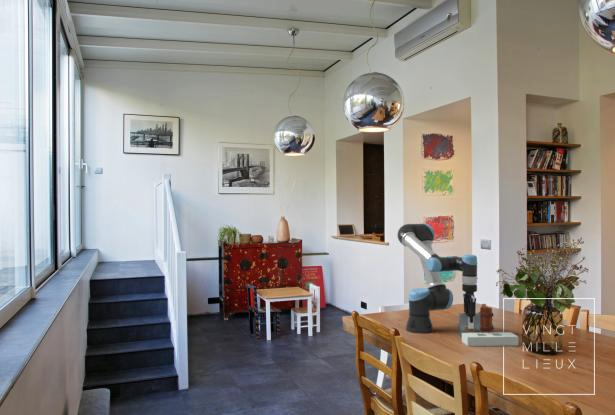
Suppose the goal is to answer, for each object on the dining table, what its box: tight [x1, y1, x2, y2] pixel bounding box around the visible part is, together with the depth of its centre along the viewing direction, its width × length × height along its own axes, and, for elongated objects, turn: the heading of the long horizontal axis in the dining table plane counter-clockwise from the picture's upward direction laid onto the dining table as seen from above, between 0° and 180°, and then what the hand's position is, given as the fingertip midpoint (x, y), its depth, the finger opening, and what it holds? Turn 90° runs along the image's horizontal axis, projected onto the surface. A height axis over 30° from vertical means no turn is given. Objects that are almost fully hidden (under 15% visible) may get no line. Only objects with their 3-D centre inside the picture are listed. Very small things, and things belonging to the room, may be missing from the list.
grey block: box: [458, 312, 481, 338], centre depth 266 cm, size 11×3×12 cm, turn 91°
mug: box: [478, 303, 495, 333], centre depth 281 cm, size 15×8×15 cm, turn 168°
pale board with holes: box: [461, 331, 519, 347], centre depth 257 cm, size 26×9×4 cm, turn 91°
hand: (469, 327), depth 266 cm, fingers closed on grey block, 3 cm apart
